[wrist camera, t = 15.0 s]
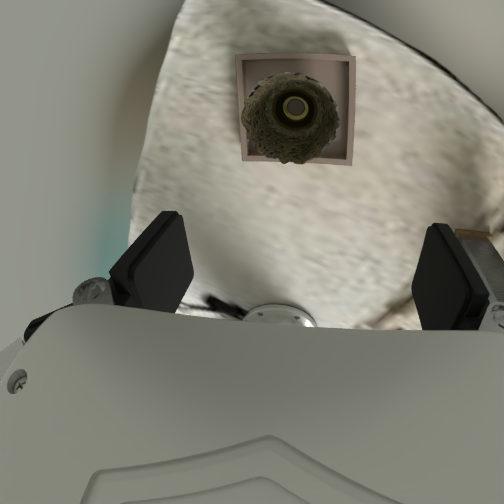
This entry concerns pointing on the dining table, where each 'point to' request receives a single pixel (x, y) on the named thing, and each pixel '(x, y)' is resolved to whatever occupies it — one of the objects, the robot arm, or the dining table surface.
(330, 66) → the tray
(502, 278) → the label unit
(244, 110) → the cup
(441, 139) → the dining table surface
